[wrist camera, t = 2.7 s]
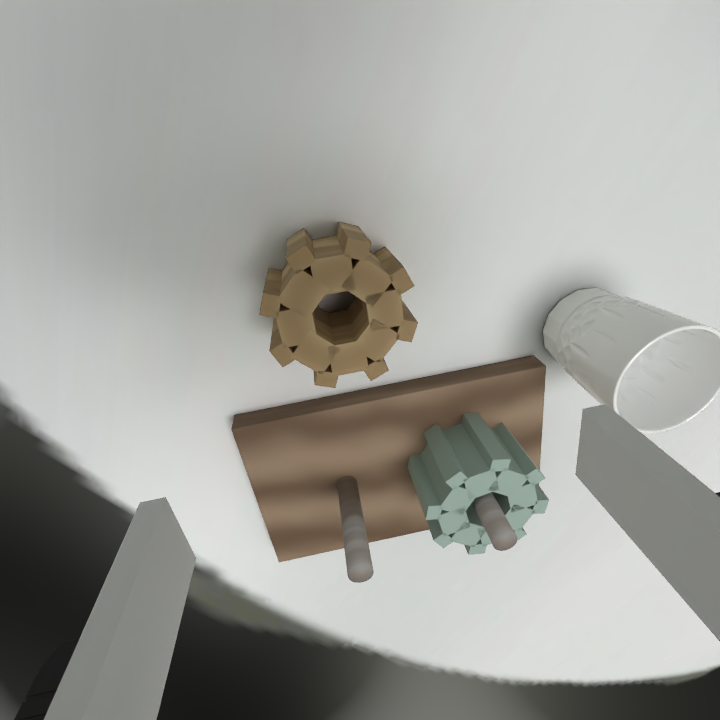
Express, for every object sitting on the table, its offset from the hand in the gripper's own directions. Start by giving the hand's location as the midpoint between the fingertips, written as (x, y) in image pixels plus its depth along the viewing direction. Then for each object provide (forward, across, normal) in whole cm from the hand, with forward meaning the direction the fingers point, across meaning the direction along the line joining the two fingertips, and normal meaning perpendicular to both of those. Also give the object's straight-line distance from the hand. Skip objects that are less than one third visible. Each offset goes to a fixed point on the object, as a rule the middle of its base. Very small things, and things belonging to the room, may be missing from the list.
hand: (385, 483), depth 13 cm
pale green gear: (+18, +8, -17) cm, 26 cm away
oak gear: (+20, 0, 0) cm, 21 cm away
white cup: (+21, +20, -7) cm, 30 cm away
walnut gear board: (+20, +3, -17) cm, 27 cm away
